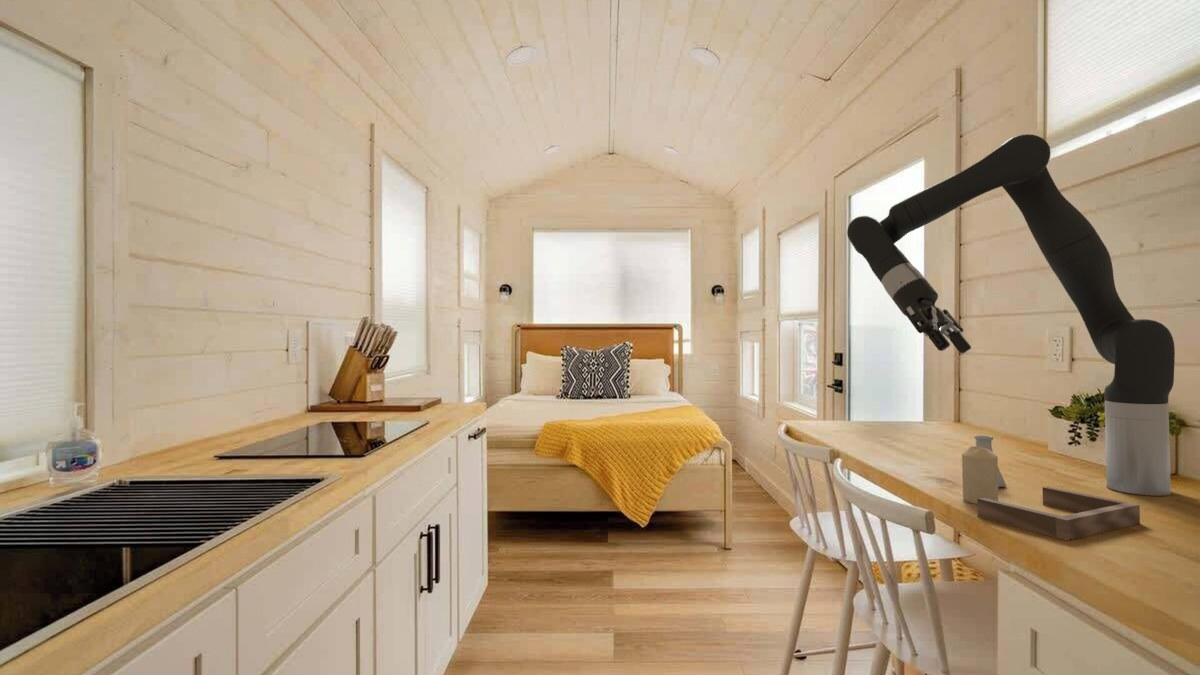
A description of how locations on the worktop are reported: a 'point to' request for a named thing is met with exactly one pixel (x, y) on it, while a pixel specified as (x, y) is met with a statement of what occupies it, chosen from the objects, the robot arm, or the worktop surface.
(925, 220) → the robot arm
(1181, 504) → the worktop surface
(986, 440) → the flask
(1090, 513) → the walnut bay
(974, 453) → the beige milk carton
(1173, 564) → the worktop surface
